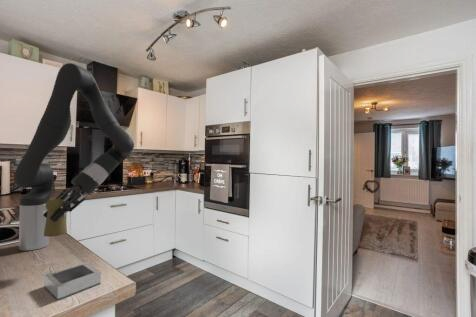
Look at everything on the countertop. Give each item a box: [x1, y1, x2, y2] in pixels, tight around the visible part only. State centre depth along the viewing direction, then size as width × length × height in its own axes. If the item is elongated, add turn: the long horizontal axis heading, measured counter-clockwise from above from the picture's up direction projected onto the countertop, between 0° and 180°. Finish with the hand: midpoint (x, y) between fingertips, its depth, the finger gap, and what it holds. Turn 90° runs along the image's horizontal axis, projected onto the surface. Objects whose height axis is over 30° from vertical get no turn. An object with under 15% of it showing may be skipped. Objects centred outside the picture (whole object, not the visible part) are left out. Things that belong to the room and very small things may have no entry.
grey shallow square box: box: [43, 262, 102, 302], centre depth 68 cm, size 10×10×3 cm
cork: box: [44, 198, 68, 238], centre depth 77 cm, size 6×6×11 cm
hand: (48, 218), depth 76 cm, fingers closed on cork, 5 cm apart
